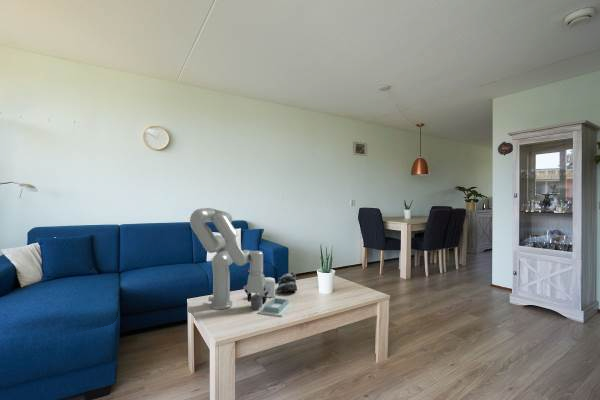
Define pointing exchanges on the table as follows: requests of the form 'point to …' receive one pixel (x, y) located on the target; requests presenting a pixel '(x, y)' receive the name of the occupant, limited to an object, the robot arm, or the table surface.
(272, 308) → the dock
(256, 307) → the servo block
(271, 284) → the photo printer
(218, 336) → the table surface
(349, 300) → the table surface
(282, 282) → the dark grey rough lump
